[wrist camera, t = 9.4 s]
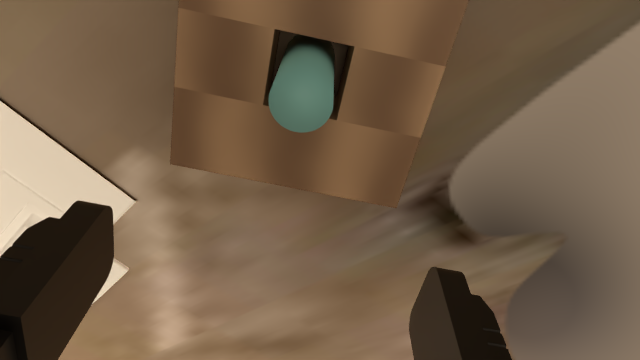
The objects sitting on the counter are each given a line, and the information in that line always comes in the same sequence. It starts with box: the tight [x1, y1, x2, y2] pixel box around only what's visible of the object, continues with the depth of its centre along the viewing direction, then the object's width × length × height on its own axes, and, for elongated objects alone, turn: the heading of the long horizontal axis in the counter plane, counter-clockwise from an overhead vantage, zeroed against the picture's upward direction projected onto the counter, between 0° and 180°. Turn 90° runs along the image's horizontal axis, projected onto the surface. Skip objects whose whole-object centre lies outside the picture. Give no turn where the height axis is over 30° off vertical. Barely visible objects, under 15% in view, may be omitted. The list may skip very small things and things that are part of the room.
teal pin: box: [268, 34, 335, 133], centre depth 25 cm, size 3×3×8 cm
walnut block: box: [170, 0, 469, 208], centre depth 27 cm, size 14×14×4 cm
